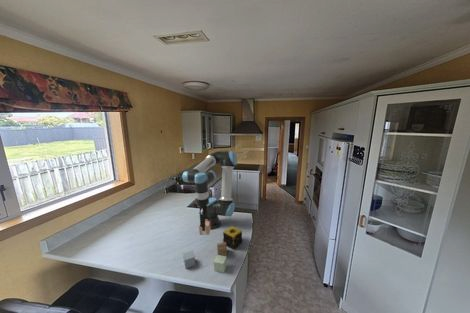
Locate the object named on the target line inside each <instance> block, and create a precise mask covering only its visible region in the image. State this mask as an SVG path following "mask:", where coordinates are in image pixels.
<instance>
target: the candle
mask: <svg viewBox="0 0 470 313" xmlns="http://www.w3.org/2000/svg"><path fill="white" fill-rule="evenodd" d="M222 235H223V239H222V241H223V242H222V243H224V242H226V246H227V247H228V248H229V249H231V250H235V249H236V248H238V247H240V245H241V244H242V243H243V230H242V229H240V228H237V227H235V226H232V225H231V226H230V227H229V228H227V229H225V230H223V232H222Z"/></svg>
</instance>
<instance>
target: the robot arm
mask: <svg viewBox="0 0 470 313" xmlns="http://www.w3.org/2000/svg"><path fill="white" fill-rule="evenodd" d="M237 164H238V157H237V154H236V152H235V151H231V150H223V151H222V150H217V151H213V152H211V153H210V154H209V155H207V156H205V159H204V160H203V161H200V163H198V164H197V165H196V166H195V167H193V168H192V169H191V170H187V171H186V170H184V172H183V173H182V176H181V178H182V180H183V182H185V183H194V185H195V186H194V187H195V193H194V195H195V196H196V197H195V198H196V205H197V206H199V212H198V213H199V225H200V226H201V228H202V235H201V236H207V233H206V225H205V221H210V228H211V229H210V230H214V229H217V228H219V227H220V225H221V221H220V217H219V216H222V217H231V216H232V215H233V214H234V213H235V212H234V211H235V208H236V203H235V202H234V199H233V197H232V190H233V187H232V186H233V170H234V169H235V167H236V165H237ZM215 165H220V167H221V168H222V170H221V171H222V173H221V187H220V188H221V190H220V193H221V194H220V197H219V198H218V199H217V198H216V197H210V196H209V188H208V187H209V186H210V185H211V184H212V183H213V182H214V181H215V180H216V179H217V175H216V172H215V171H214V170H209V169H210V168H211V167H213V166H215Z"/></svg>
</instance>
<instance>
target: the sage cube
mask: <svg viewBox="0 0 470 313" xmlns="http://www.w3.org/2000/svg"><path fill="white" fill-rule="evenodd" d="M227 266H228V255H227V256H222V255H218V254H216V257H215V259H214V261H213V269H214V271H215V272H218V273H225V271H226V268H227Z"/></svg>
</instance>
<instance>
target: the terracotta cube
mask: <svg viewBox="0 0 470 313" xmlns="http://www.w3.org/2000/svg"><path fill="white" fill-rule="evenodd" d="M205 225H206V233H207V235H208V236H209V235H210V233H211V230H212V229H211V228H210V221H205ZM198 229H199V230H198V232H199V236H203V235H202V228H201V226H200V224H199V225H198ZM207 235H206V236H207Z"/></svg>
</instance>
